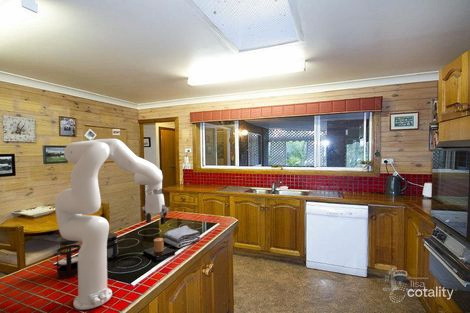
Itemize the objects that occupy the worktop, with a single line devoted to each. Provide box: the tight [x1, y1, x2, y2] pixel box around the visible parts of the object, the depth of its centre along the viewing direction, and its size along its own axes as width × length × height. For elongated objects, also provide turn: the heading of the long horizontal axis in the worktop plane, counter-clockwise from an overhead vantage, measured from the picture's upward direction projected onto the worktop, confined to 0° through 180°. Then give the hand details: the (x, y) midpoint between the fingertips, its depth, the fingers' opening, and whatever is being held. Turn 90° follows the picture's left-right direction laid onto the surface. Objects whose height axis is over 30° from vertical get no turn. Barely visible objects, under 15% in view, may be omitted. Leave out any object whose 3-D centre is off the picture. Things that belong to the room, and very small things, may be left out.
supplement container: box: [107, 232, 119, 262], centre depth 128 cm, size 10×10×12 cm
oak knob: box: [153, 237, 165, 252], centre depth 131 cm, size 5×5×6 cm
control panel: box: [142, 245, 176, 263], centre depth 131 cm, size 14×11×3 cm
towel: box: [163, 225, 201, 249], centre depth 150 cm, size 15×18×8 cm
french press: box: [56, 236, 82, 280], centre depth 111 cm, size 12×9×23 cm
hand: (155, 223), depth 131 cm, fingers open, 9 cm apart
